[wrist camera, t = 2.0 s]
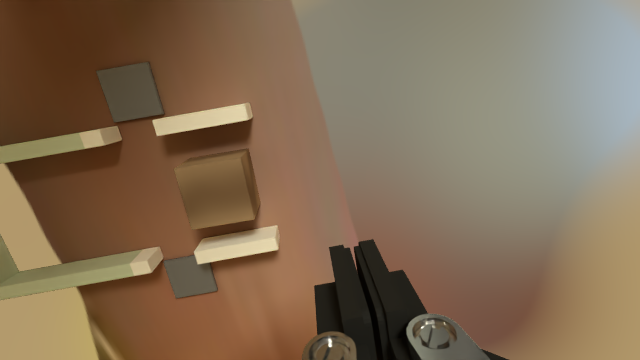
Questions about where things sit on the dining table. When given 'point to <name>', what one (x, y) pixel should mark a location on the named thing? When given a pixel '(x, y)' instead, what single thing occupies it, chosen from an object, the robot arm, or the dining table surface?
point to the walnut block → (218, 189)
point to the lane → (8, 282)
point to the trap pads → (137, 102)
